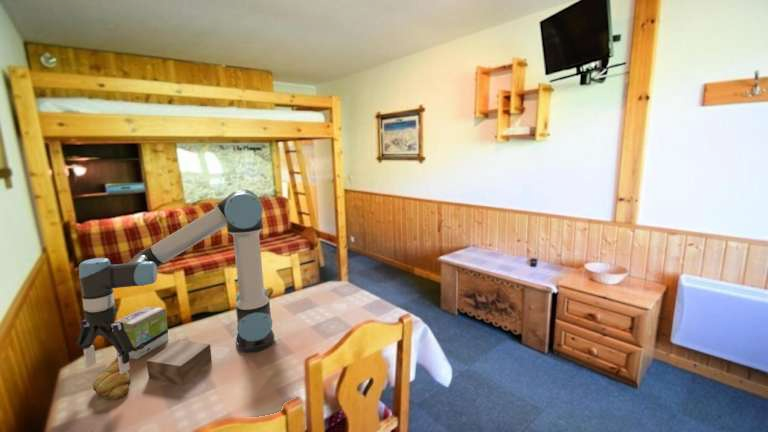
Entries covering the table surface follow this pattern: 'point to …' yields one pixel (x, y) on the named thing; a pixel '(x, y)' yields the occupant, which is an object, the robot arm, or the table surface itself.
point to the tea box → (145, 329)
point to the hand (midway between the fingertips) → (107, 368)
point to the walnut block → (179, 362)
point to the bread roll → (112, 383)
